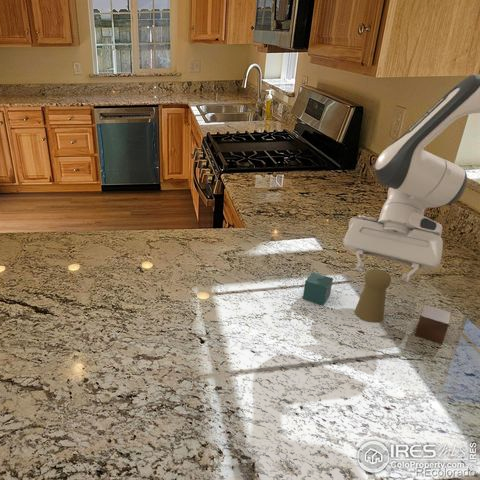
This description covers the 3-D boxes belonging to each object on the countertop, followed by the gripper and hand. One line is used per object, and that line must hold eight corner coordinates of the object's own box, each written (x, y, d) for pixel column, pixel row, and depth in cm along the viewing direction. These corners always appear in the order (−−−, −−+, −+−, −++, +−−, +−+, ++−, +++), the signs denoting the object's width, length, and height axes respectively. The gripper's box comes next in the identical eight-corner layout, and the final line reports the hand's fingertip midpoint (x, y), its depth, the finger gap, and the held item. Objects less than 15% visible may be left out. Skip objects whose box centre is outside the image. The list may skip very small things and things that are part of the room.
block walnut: (414, 335, 90) (420, 315, 87) (418, 323, 93) (423, 304, 91) (442, 344, 87) (449, 324, 85) (444, 331, 91) (451, 312, 88)
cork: (350, 314, 96) (359, 272, 91) (360, 303, 100) (369, 262, 95) (378, 325, 93) (389, 282, 88) (387, 313, 97) (398, 271, 92)
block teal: (302, 298, 102) (305, 280, 100) (309, 289, 106) (312, 272, 104) (323, 305, 100) (326, 287, 97) (329, 295, 103) (333, 278, 101)
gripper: (351, 207, 103) (333, 259, 100) (450, 227, 92) (433, 285, 89) (353, 218, 108) (335, 267, 105) (447, 238, 97) (430, 293, 94)
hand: (381, 276), depth 97 cm, fingers open, 8 cm apart
